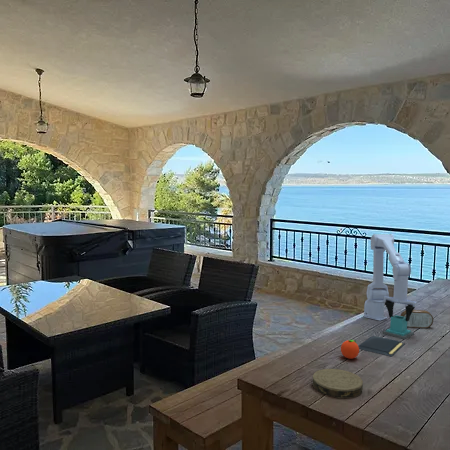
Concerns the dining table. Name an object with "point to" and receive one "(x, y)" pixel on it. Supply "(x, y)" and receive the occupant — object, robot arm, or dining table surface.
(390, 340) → the wallet
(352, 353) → the clementine
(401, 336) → the post block
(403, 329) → the flange
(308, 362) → the dining table surface
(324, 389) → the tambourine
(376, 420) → the dining table surface
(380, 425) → the dining table surface
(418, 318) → the tin
